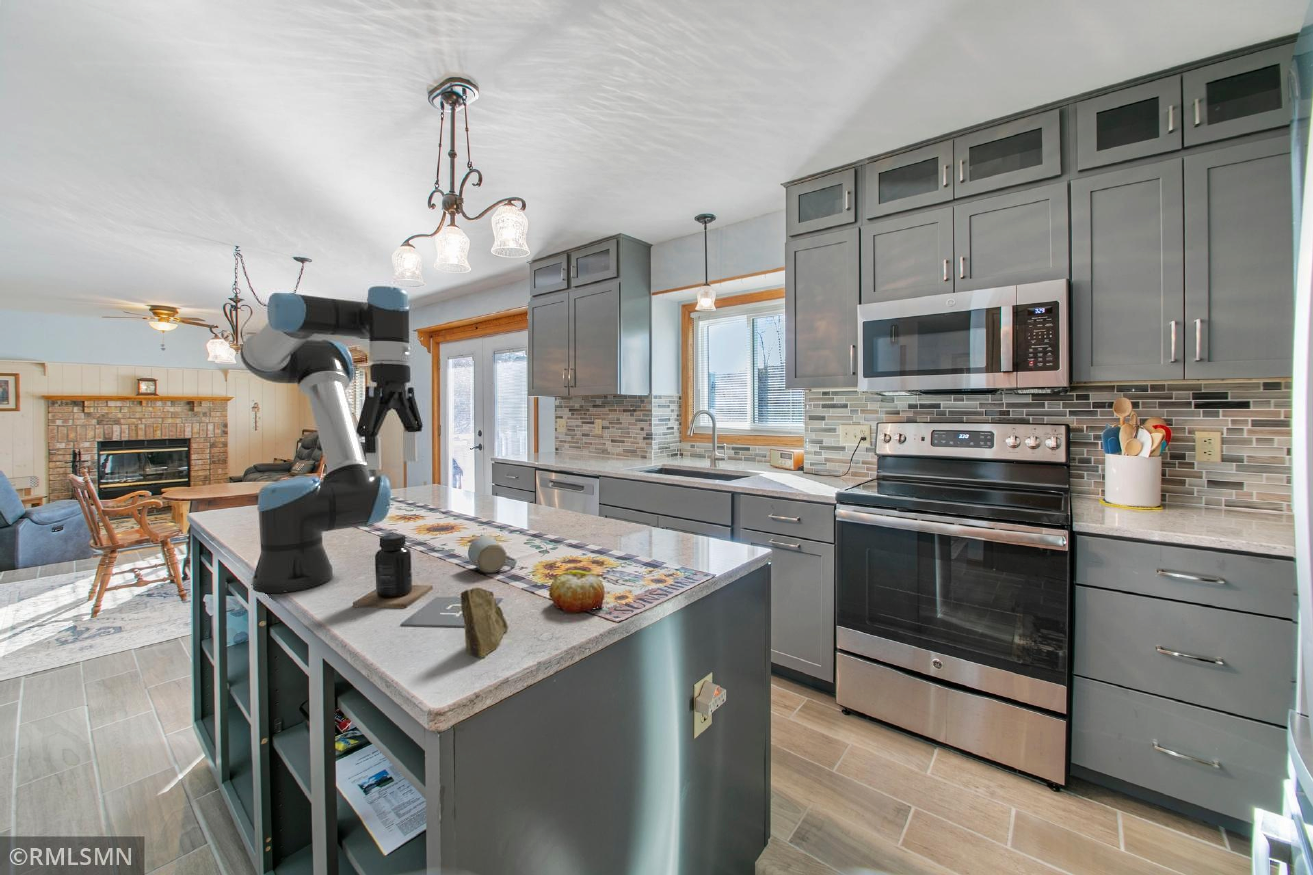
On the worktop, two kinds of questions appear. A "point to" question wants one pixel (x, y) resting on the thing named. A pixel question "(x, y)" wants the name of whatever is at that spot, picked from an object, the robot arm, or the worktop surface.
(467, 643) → the rock
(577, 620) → the worktop surface
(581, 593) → the fruit
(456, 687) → the worktop surface
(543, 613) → the worktop surface
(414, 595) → the walnut coaster
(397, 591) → the supplement bottle
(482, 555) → the ceramic mug
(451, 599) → the tile
